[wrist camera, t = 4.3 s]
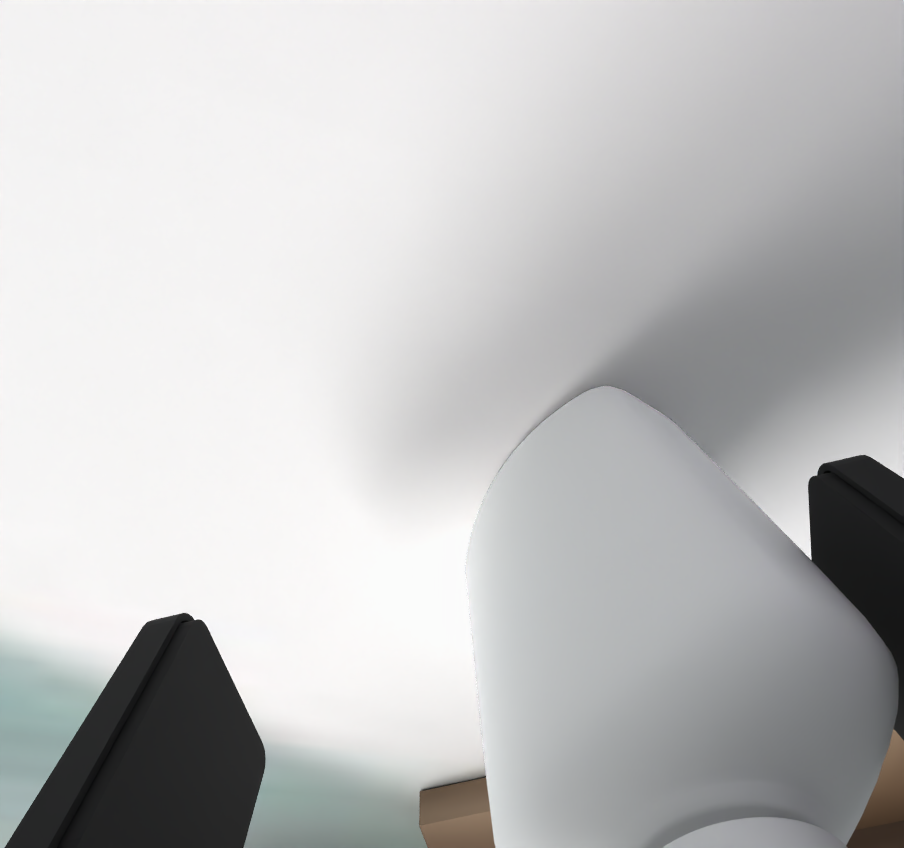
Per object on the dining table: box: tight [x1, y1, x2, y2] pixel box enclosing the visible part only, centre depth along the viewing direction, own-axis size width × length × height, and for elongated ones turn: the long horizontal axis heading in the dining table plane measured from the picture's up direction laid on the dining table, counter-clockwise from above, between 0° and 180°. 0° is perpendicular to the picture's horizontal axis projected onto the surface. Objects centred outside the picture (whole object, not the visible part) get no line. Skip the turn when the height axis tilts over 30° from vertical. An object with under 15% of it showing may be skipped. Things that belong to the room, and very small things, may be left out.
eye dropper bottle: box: [465, 386, 899, 848], centre depth 9 cm, size 4×6×12 cm
